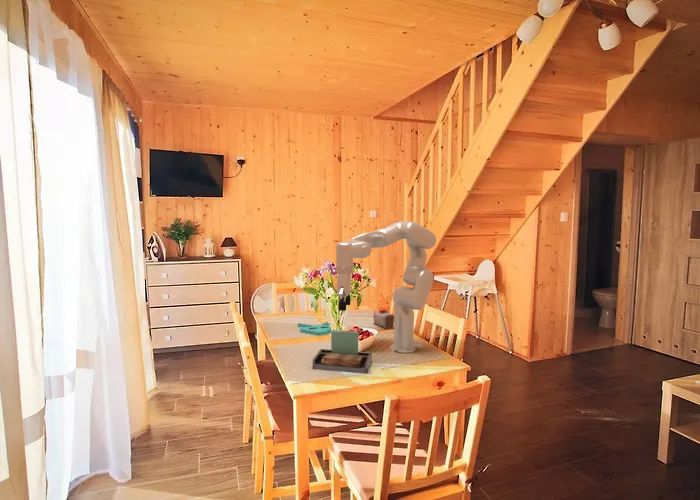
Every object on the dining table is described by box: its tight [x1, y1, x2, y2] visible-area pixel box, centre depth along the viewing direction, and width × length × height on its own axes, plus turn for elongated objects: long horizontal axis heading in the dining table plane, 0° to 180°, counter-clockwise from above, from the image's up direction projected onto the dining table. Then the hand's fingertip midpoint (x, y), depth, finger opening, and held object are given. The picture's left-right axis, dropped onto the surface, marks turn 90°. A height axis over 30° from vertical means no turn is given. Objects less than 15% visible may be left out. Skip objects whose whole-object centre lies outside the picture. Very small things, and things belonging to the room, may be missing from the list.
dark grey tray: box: [312, 348, 373, 374], centre depth 191 cm, size 24×14×5 cm, turn 79°
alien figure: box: [297, 320, 331, 336], centre depth 245 cm, size 20×2×20 cm
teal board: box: [330, 329, 360, 355], centre depth 194 cm, size 12×2×14 cm, turn 79°
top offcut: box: [324, 353, 362, 364], centre depth 188 cm, size 16×6×2 cm, turn 77°
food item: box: [373, 309, 395, 330], centre depth 253 cm, size 14×8×10 cm, turn 32°
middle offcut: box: [321, 356, 358, 367], centre depth 189 cm, size 16×6×2 cm, turn 82°
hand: (344, 307), depth 192 cm, fingers open, 9 cm apart
